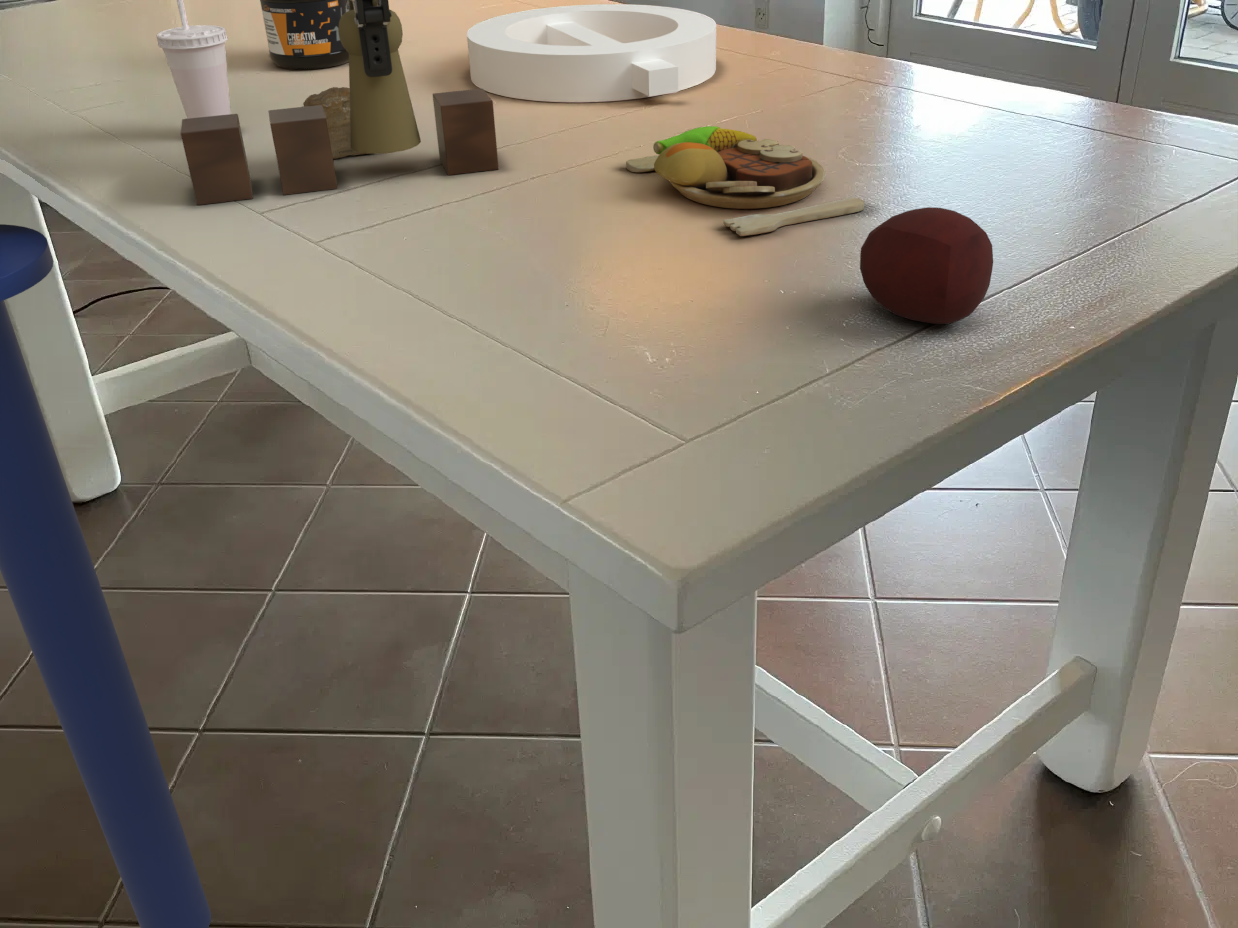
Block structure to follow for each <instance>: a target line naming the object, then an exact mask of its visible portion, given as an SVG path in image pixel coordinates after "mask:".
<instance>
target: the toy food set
mask: <svg viewBox="0 0 1238 928" xmlns="http://www.w3.org/2000/svg"><path fill="white" fill-rule="evenodd" d="M653 152H654V153H655V154H656V155H651V156H644V157H638V158H632V159H628V160H625V168H626V170H628V171H629V172H632V173H647V172H652V171H653V172H654V171H655V173H656V174H658V175H659V176H660V177H662V178H663V179H665V180H667V181H669V182H670V184H671V186H672V187H674V189H676V190H677V191H678V192H679V193H680V194H681V195H683V197H685V198H687V199H689V200H691V201H693V202H696V203H699V204H702V205H705V206H710V207H717V208H724V209H735V210H736V209H737V210H754V209H768V208H775V207H780V206H785V205H789V204H792V203H796V202H798V201H801V200H803V199H805V198H806V197H809V195H811V194H812V193H813V191H814V190H816V189H817V188H818V187H819V186H821V185H822V183H823V182H824V180H825V178H826V174H827V173H826V170H825V168H824V166H823V165H822V164H821V163H820V162H818V161H817V160H815V159H813V158H811V157H808V156H806V155H804V153H803V151H802V150H796V146H794V145H790V144H780V142H779V141H777V140H775V139H771V138H763V139H759V140H758V139H757V137H756V136H755V135H754V134H750V133H748V132H745V131H741V130H736V129H732V128H731V129H730V128H721V126H720V127H719V126H713V125H708V126H700V127H695V128H692V129H689V130H686V131H683V132H681V133H679V134H677V135H674V136H671V137H668V138H665V139H661V140H657V141H655V142H654V143H653ZM865 204H866V203H865V201H864V200H863V199H862V198H858V197H847V198H841V199H836V200H832V201H828V202H822V203H818V204H815V205H814V204H813V205H810V206H805V207H801V208H797V209H793V210H788V211H787V210H786V211H783V212H778V213H771V214H768V213H767V214H765V213H764V214H763V213H755V214H749V215H744V216H738V217H733V218H727V219H724V220H722V221H723V225H724V226H726V227H727V228H729V229H730V230H731V231H733V232H735V233H736V234H737V235H738V236H740V237H747V236H753V235H754V236H755V235H759V234H766V233H770V232H775V230H777V229H778V228H780V227H784V226H789V225H794V224H795V225H796V224H800V223H805V222H810V221H811V222H812V221H817V220H821V219H822V220H823V219H828V218H833V217H838V216H844V215H849V214H853V213H858V212H861V211H864V210H865Z"/></svg>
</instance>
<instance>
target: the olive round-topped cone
mask: <svg viewBox="0 0 1238 928" xmlns="http://www.w3.org/2000/svg"><path fill="white" fill-rule="evenodd" d="M389 10H391V17H390V22H388V24H389V26H386V27H387V32H388V40H389V47H390V55H391V63H392V73H391V74H390V75H388V76H379V77H369V76H367V75H366V73H365V71H364V65H363V58H362V51H361V44H360V37H359V30H358V28H357V24H355V21H354V17H355V12H354V10H351V11H348V12H346V13H344V14H343V15H342V16H341V18H340V21H339V28H338V32H339V38H340V41H341V43H342V46H343V47H344V48H345V49H346V51H347V52H348V53H349V62H348V78H349V79H348V81H349V84H348V86H349V87H348V88H350V131H351V148H352V149H353V150H355V151H358V152H362V153H369V154H375V155H377V154H378V155H379V154H380V155H381V154H392V153H398V152H403V151H407V150H411V149H414V148H415V147H417V146H419V145H420V144H421V143H422V140H421V135H420V132H419V128H418V123H417V120H416V116H415V115H416V114H415V111H414V107H413V103H412V100H411V95H410V92H409V89H408V88H409V87H408V84H407V79H406V76H405V72H404V69H403V64H402V60H401V56H400V52H399V49H400V46H401V44H402V42H403V37H404V36H403V35H404V34H403V25H402V22H401V18H400V17H399V16H398V14H397V12H396V11H394V10H392V9H390V8H389ZM355 18H356V17H355Z"/></svg>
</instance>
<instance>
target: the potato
mask: <svg viewBox="0 0 1238 928" xmlns="http://www.w3.org/2000/svg"><path fill="white" fill-rule="evenodd" d="M993 268H994V251H993V243H992V241H991V240H990V238H989V236H988V233H987V231H985V230H984V229H983V228H982V227H981V226H980V225H979V224H978V223H977V222H975V221H974V220H973V219H972V218H970V217H968V216H967V215H964V214H962V213H960V212H958V211H956V210H952V209H947V208H943V207H931V206H930V207H921V208H915V209H910V210H906V211H904V212H901V213H899V214H896V215H893V216H891V217H889V218H888V219H886V220H885V221H884V222H882V223H880V224H879V225H878V226H877V227H874V229H872V230H871V231H870V232H868V235H867V236H866V237H865V240H864V242H863V244H862V245H861V248H860V254H859V269H860V273H861V277H862V280H863V283H864V286H865V288H866V289H867V291H868V292H869V294H870V296H871V297H872V298H873V299H874V300H875V301H876V302H877V303H878V304H879V305H880V306H882V307H883V308H885V309H886V310H887V311H889V312H891V313H892V314H894V315H896V316H899V317H901V318H904V319H907V320H911V321H915V322H921V323H926V324H931V325H932V324H933V325H945V324H953V323H956V322H960V321H961V320H963V319H965V318H967V317H968V316H970V315H971V314H972V313H973V312H974V311H975V310H976V309H977V308H978V307H979V306H980V304H981V303H982V302H983V300H984V299H985V296H986V295H987V292H988V290H989V287H990V285H991V279H992V275H993Z"/></svg>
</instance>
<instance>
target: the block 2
mask: <svg viewBox="0 0 1238 928" xmlns="http://www.w3.org/2000/svg"><path fill="white" fill-rule="evenodd" d="M267 112H268V113H267V114H268V118H269V119H268V120H269V124H270V130H271V131H270V132H271V136H272V141H273V146H274V153H275V156H276V157H275V158H276V162H277V168H278V173H279V177H280V184H281V189H282V194H283V195H284V196H286V195H294V194H305V193H311V192H319V191H320V192H321V191H328V190H337V189H338V182H337V176H336V169H335V164H334V159H333V157H332V151H331V145H330V138H329V132H328V126H327V120H326V116H325V113H324V110H323V107H322V105H316V106H306V107H303V106H296V107H288V108H287V107H286V108H278V109H269V110H268V111H267Z"/></svg>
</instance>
